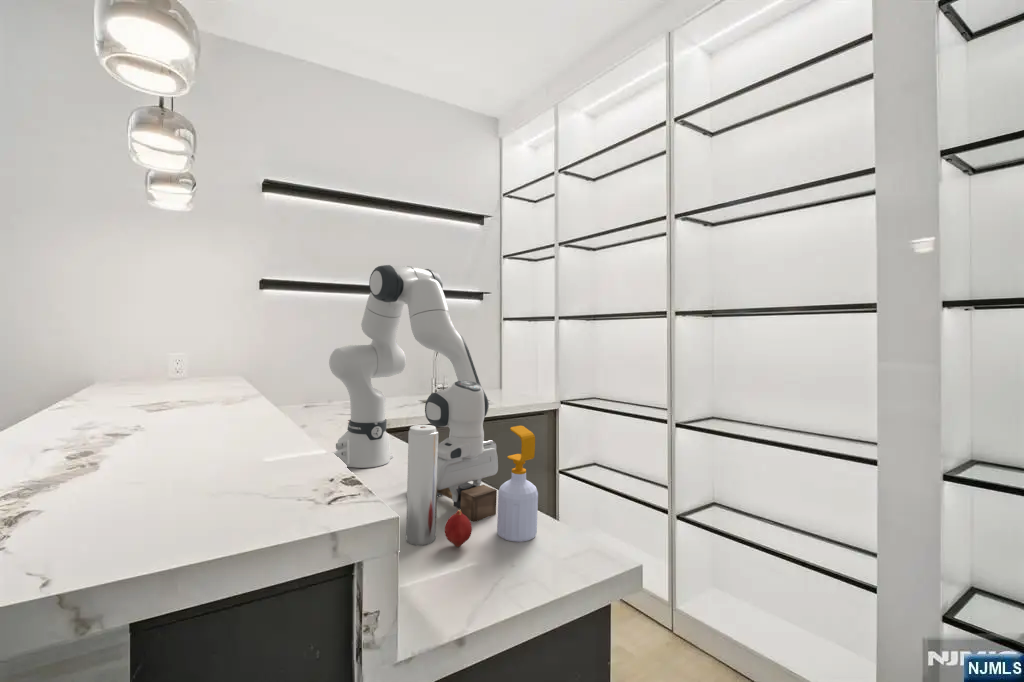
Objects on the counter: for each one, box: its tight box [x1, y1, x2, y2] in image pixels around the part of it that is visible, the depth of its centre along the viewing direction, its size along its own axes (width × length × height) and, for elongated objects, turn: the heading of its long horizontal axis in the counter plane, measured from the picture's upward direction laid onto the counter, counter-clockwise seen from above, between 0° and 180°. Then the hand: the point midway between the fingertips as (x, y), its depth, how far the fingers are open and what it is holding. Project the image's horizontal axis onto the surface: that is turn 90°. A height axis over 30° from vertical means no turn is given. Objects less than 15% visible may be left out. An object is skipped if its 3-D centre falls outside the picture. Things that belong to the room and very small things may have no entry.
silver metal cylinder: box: [405, 424, 440, 546], centre depth 105 cm, size 6×6×25 cm
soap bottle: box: [496, 425, 539, 543], centre depth 109 cm, size 9×9×25 cm
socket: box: [461, 484, 498, 523], centre depth 119 cm, size 5×7×6 cm
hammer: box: [437, 482, 476, 510], centre depth 125 cm, size 17×4×6 cm, turn 45°
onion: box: [444, 509, 473, 548], centre depth 103 cm, size 6×6×8 cm
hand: (464, 498), depth 123 cm, fingers closed on hammer, 4 cm apart
